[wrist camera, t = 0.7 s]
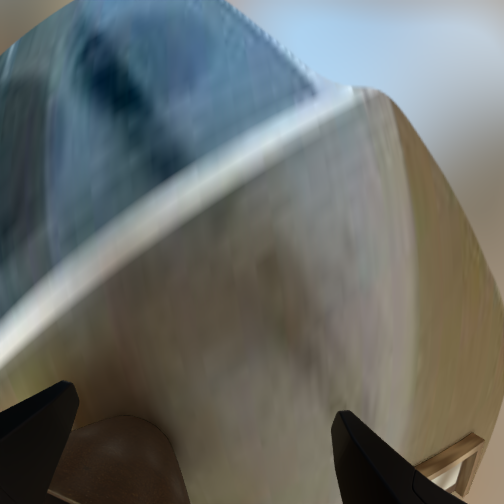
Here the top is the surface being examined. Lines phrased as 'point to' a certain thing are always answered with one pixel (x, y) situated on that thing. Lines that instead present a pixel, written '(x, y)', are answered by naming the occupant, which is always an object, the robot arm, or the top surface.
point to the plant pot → (117, 466)
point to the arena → (455, 465)
